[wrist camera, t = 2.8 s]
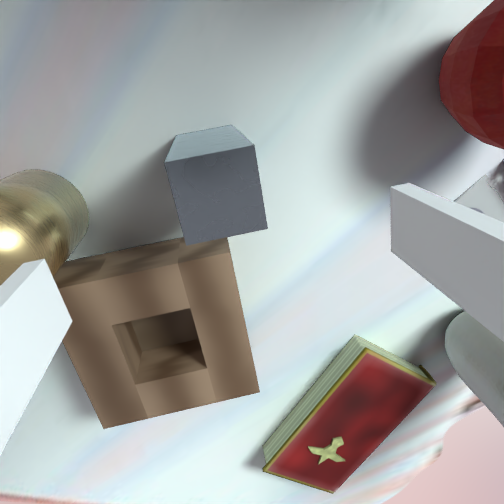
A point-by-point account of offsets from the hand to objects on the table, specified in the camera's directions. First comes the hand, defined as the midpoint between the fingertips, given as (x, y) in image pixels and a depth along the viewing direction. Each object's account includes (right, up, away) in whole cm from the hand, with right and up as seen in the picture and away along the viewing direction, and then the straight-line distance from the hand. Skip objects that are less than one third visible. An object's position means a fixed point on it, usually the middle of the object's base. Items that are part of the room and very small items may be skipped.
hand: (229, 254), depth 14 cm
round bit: (-18, +4, +20) cm, 27 cm away
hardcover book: (+12, -20, +35) cm, 42 cm away
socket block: (-8, -6, +26) cm, 28 cm away
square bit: (-3, +9, +20) cm, 22 cm away
